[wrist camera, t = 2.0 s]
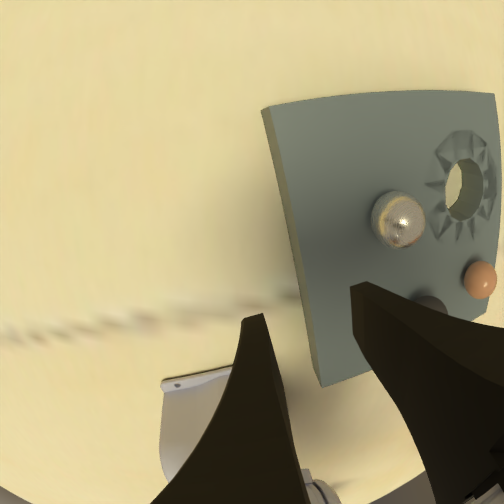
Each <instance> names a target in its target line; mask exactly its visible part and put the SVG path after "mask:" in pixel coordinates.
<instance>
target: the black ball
mask: <svg viewBox="0 0 504 504" xmlns="http://www.w3.org/2000/svg"><path fill="white" fill-rule="evenodd" d="M414 302H416V303H418V304H421V305H423V306H426V307H428V308H431V309H433V310H436V311H439V312H442V313H444V314H447V315H448V311H447V308H446V306H445V305H444V303H443V302H442V301H441V300H440V299H438V298H436V297H434V296H428V295H427V296H421V297H419V298H417V299H415V300H414Z"/></svg>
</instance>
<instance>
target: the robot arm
mask: <svg viewBox="0 0 504 504" xmlns="http://www.w3.org/2000/svg"><path fill="white" fill-rule="evenodd" d="M350 298H351V313H352V331H353V336H354V338H355V340H356V342H357V344H358V346H359V348H360V350H361V352H362V354H363V356H364V358H365V359H366V361H367V362H368V364H369V365H370V367H371V368H372V370H373V371H374V373H375V374H376V376H377V377H378V379H379V380H380V382H381V383H382V385H383V386H384V388H385V389H386V390H387V392H388V393H389V395H390V396H391V398H392V399H393V401H394V402H395V404H396V406H397V407H398V409H399V411H400V413H401V414H402V416H403V418H404V421H405V423H406V425H407V427H408V429H409V431H410V433H411V435H412V437H413V440H414V442H415V444H416V447H417V449H418V451H419V454H420V456H421V459H422V461H423V464H424V467H425V469H426V472H427V475H428V478H429V481H430V484H431V487H432V490H433V494H434V497H435V501H436V504H464V503H466V502H467V501H469V500H470V499H472V498H473V497H474V498H475V499H476V500H475V501H474V502H472V503H471V504H501V503H502V502H503V501H504V328H500V327H494V326H488V325H483V324H479V323H475V322H471V321H467V320H464V319H460V318H457V317H453V316H450V315H447V314H444V313H442V312H439V311H436V310H433V309H431V308H428V307H426V306H423V305H421V304H418V303H416V302H414V301H411V300H409V299H407V298H404V297H402V296H400V295H398V294H395V293H393V292H391V291H389V290H387V289H384V288H382V287H380V286H378V285H375V284H373V283H370V282H368V281H365V282H362V283H359V284H356V285H353V286H350ZM176 383H178V384H176ZM160 387H161V389H162V391H163V392H164V397H163V407H162V417H161V428H160V441H159V454H160V461H161V465H162V469H163V472H164V475H165V477H166V479H167V481H168V483H169V484H168V485H167V486H166V487H165V488H164V489H163V490H162V491H161V493H160V494H159V495H158V496H157V497H156V498H155V499H154V500H153V501H152V502H151V503H150V504H341V501H340V499H339V497H338V495H337V494H336V492H335V491H334V490H333V489H332V488H331V487H330V486H328V485H327V484H326V483H325V482H324V481H322V480H318V479H316V480H312V477H311V474H310V471H309V469H300V465H299V462H298V458H297V455H296V451H295V447H294V442H293V437H292V431H291V426H290V420H289V415H288V408H287V403H286V398H285V392H284V387H283V383H282V379H281V375H280V372H279V368H278V364H277V361H276V357H275V353H274V350H273V346H272V342H271V339H270V335H269V332H268V328H267V324H266V321H265V318H264V315H263V313H261V314H257V315H254V316H250V317H247V318H244V319H243V320H242V322H241V332H240V338H239V343H238V348H237V352H236V355H235V359H234V363H233V366H231V367H227V368H223V369H219V370H214V371H210V372H205V373H200V374H196V375H191V376H186V377H181V378H176V379H170V380H165V381H162V382H161V385H160Z"/></svg>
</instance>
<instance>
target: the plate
mask: <svg viewBox="0 0 504 504" xmlns="http://www.w3.org/2000/svg"><path fill="white" fill-rule="evenodd" d="M261 114H262V118H263V122H264V126H265V130H266V134H267V138H268V142H269V146H270V151H271V155H272V159H273V164H274V168H275V172H276V177H277V181H278V186H279V190H280V195H281V199H282V204H283V209H284V213H285V218H286V223H287V228H288V233H289V237H290V242H291V247H292V252H293V257H294V262H295V268H296V273H297V278H298V283H299V289H300V294H301V300H302V305H303V311H304V316H305V322H306V328H307V334H308V339H309V345H310V352H311V358H312V364H313V369H314V371H315V373H316V376H317V378H318V380H319V383H320V385H321V387H322V388H324V387H327V386H330V385H333V384H336V383H338V382H341V381H344V380H347V379H349V378H352V377H355V376H357V375H360V374H362V373H365V372H368V371H370V370H372V368H371V367H370V365H369V364H368V362H367V361H366V359H365V358H364V356H363V354H362V352H361V350H360V348H359V346H358V344H357V342H356V340H355V338H354V336H353V331H352V313H351V298H350V286H353V285H356V284H359V283H362V282H365V281H368V282H370V283H373V284H375V285H378V286H380V287H382V288H384V289H387V290H389V291H391V292H393V293H395V294H398V295H400V296H402V297H404V298H407V299H409V300H411V301H414V300H415V299H417V298H419V297H421V296H427V295H428V296H434V297H436V298H438V299H440V300H441V301H442V302H443V303H444V305H445V306H446V308H447V311H448V315H450V316H453V317H457V318H460V319H464V320H467V321H472V320H474V319H475V318H477V317H479V316H480V315H482V314H484V313H485V312H486V309H487V305H488V300H489V296H488V297H487V298H484V299H475V298H473V297H472V296H470V295H469V294H468V292H467V291H466V289H465V285H464V276H465V273H466V270H467V269H468V267H469V266H470V265H471V264H473V263H474V262H477V261H485V262H488V263H490V264H491V265H492V266H493V268H494V269H495V262H496V255H497V248H498V239H499V229H500V215H501V190H502V172H501V147H500V134H499V124H498V115H497V108H496V101H495V95H494V94H493V93H482V92H468V91H443V90H413V91H387V92H371V93H359V94H349V95H340V96H331V97H324V98H316V99H309V100H303V101H297V102H291V103H285V104H280V105H274V106H269V107H267V108H265V109H263V110H261ZM457 162H458V164H459V166H460V168H461V171H462V189H461V192H460V195H459V198H458V200H457V201H456V202H455V204H454V205H453V206H452V207H451V208H450V209H448V208H447V206H446V200H445V186H446V182H447V179H448V176H449V173H450V170H451V169H452V168H453V167H454V165H455V164H456V163H457ZM392 191H404V192H407V193H409V194H411V195H413V196H414V197H415V198H416V199H417V200H418V201H419V202H420V203H421V205H422V207H423V209H424V211H425V216H426V226H425V230H424V233H423V235H422V237H421V238H420V240H419V241H418V242H417V243H416V244H414V245H413V246H411V247H409V248H406V249H392V248H389V247H387V246H385V245H384V244H382V243H381V242H380V241H379V240H378V239H377V237H376V236H375V234H374V232H373V230H372V227H371V212H372V209H373V206H374V205H375V203H376V201H377V200H378V199H379V198H380V197H381V196H383V195H384V194H386V193H388V192H392Z"/></svg>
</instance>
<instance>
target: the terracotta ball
mask: <svg viewBox="0 0 504 504" xmlns="http://www.w3.org/2000/svg"><path fill="white" fill-rule="evenodd" d="M496 284H497V274H496V271H495V269H494V268H493V266H492V265H491V264H490V263H488V262H485V261H477V262H474V263H473V264H471V265H470V266H469V267H468V269H467V270H466V273H465V276H464V285H465V289H466V291H467V292H468V294H469V295H470V296H472V297H473V298H475V299H484V298H487V297H488V296H490V295H491V294H492V293H493V291H494V290H495V288H496Z"/></svg>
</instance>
